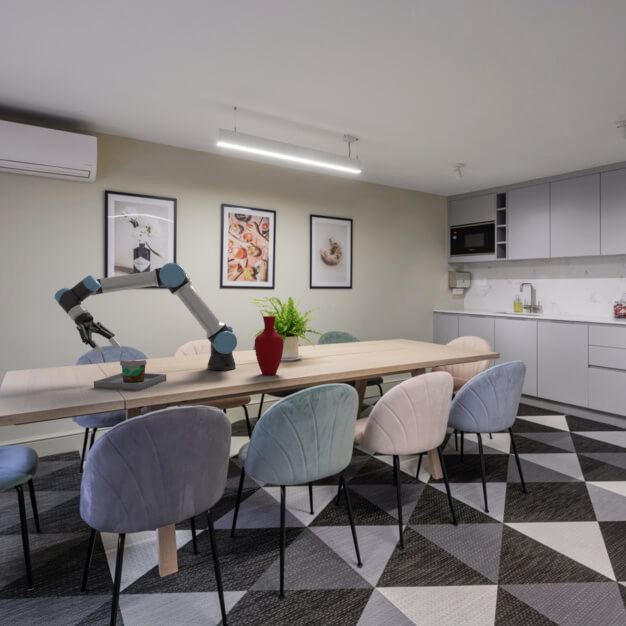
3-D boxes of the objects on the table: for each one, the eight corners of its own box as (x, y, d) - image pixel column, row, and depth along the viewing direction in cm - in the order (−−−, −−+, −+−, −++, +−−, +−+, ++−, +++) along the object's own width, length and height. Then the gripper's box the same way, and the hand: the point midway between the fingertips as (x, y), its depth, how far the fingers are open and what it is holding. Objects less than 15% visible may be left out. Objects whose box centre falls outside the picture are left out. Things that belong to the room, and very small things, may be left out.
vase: (272, 378, 217) (273, 317, 216) (248, 375, 225) (248, 316, 223) (288, 373, 230) (289, 316, 229) (265, 370, 238) (265, 315, 236)
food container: (114, 383, 199) (114, 360, 198) (122, 380, 205) (121, 358, 204) (139, 384, 197) (139, 361, 196) (147, 381, 203) (146, 359, 202)
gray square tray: (166, 380, 210) (166, 374, 210) (139, 391, 188) (139, 384, 188) (124, 378, 214) (124, 372, 214) (93, 388, 193) (93, 381, 192)
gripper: (94, 320, 218) (121, 352, 216) (56, 324, 194) (86, 360, 192) (103, 310, 217) (131, 342, 215) (66, 312, 192) (97, 348, 190)
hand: (110, 350), depth 203 cm, fingers open, 13 cm apart
